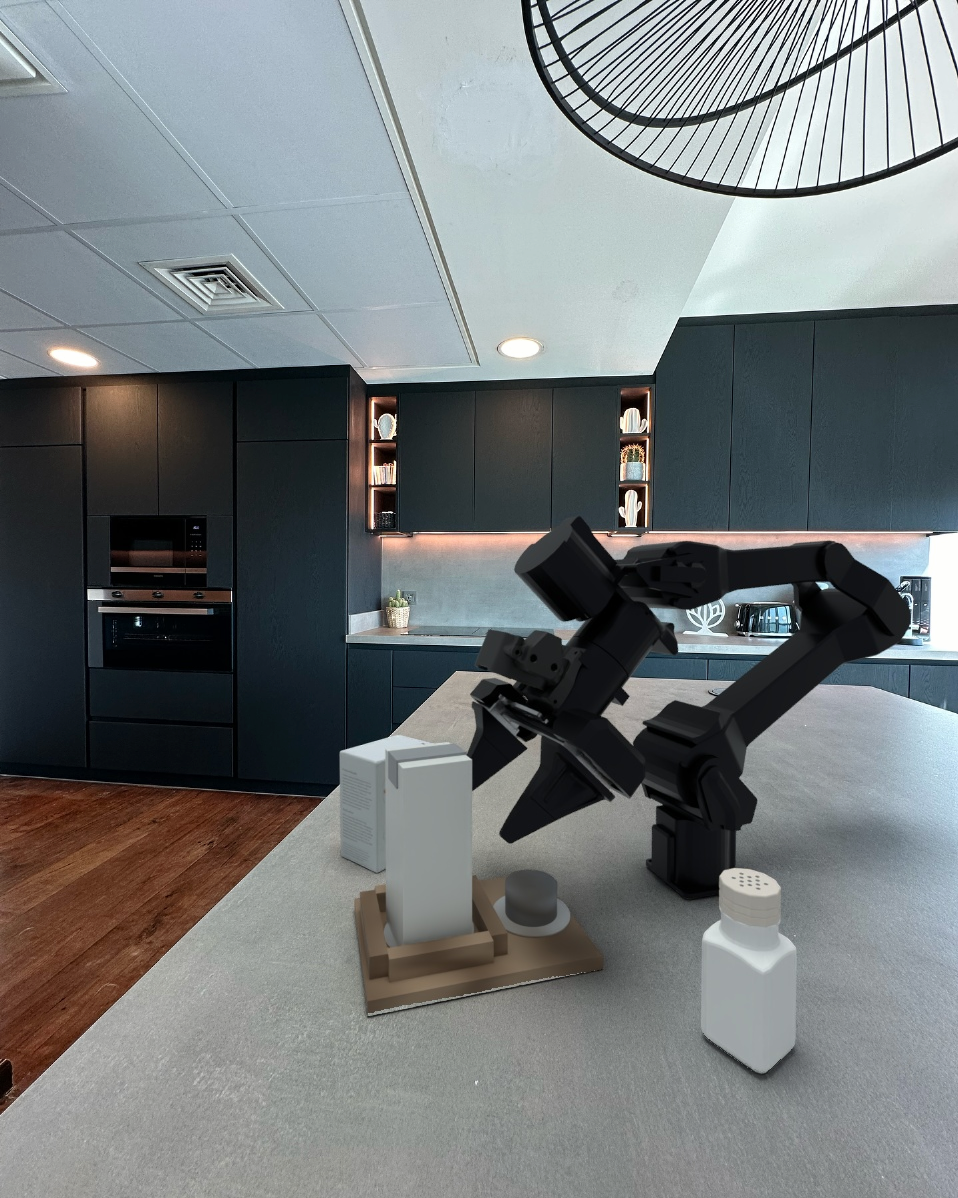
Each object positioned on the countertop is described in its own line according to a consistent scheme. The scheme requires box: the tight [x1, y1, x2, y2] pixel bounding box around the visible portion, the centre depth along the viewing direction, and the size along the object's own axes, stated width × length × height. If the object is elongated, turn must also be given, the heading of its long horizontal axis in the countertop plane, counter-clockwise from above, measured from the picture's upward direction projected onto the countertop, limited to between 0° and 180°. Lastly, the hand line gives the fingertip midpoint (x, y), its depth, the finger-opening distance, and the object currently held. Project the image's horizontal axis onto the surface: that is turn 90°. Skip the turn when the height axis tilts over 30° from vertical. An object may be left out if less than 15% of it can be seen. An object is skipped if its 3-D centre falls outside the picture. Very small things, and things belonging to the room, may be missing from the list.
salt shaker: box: [700, 867, 798, 1072], centre depth 33 cm, size 4×4×10 cm
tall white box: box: [385, 741, 473, 946], centre depth 42 cm, size 5×5×13 cm
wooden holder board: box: [353, 869, 604, 1014], centre depth 43 cm, size 16×12×4 cm
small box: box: [339, 734, 434, 874], centre depth 57 cm, size 8×6×10 cm
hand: (477, 814), depth 44 cm, fingers open, 9 cm apart
